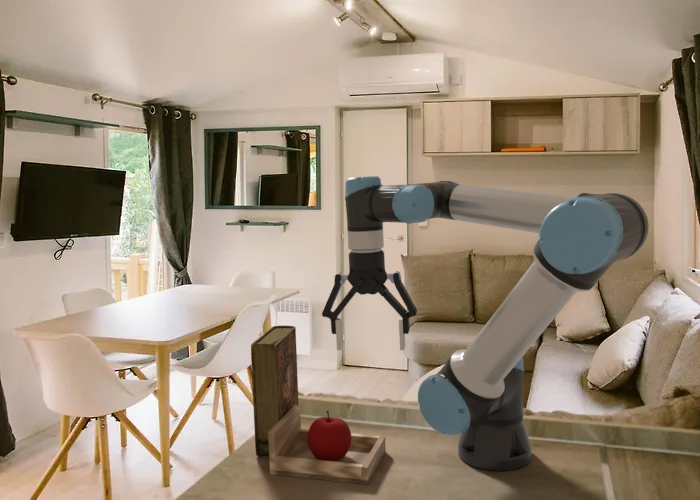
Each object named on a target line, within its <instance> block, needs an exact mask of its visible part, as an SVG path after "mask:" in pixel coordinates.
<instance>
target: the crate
mask: <svg viewBox="0 0 700 500" xmlns="http://www.w3.org/2000/svg"><path fill="white" fill-rule="evenodd" d="M301 413H302V412H301V404H298V405H294V406H293V407H292V408H291V409H290V410H289V411H288V412H287V413H286V414H285V415H284V416H283V417H282V418H281V419H280V420H279V421H278V422H277V423H276V424H275V425H274V426H273V427H272V428H271V429H270V430H269V431H268V438H269V455H268V456H269V460H268V461H269V474H270V475H275V476H282V477H283V476H284V477H292V476H293V477H294V478H301V477H304V479H310V478H316V479H315V480H319V479H327V480H326V481H329V480H334V481H333V482H338V481H340V482H339V483H347V482H349V483H348V484H356V483H357V484H356V485H365V484H367V486H369V485H368V484H369V483H370V481H371V479H372V477H373V476H374V474H375V472H376V470H377V468H378V466H379V464H380V463H381V461H382V459H383V457H384V455H385V453H386V452H387V451H386V449H387V448H386V436H384V435H375V434H374V435H373V434H364V433H352V432H351V437H352V439H351V445H350V448H349V450H348V452H347V454H346V455H345V456H344V457H343V458H342V459H341V460H338V461H335V462H334V461H324V460H318V459H317V458H315V457H314V455H313V454H312V452H311V451H310V449H309V446H308V443H307V435H308V431H309V428H308V429H305V428H302V420H301V419H302V415H301Z"/></svg>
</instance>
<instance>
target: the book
mask: <svg viewBox="0 0 700 500" xmlns="http://www.w3.org/2000/svg"><path fill="white" fill-rule="evenodd" d="M296 329H297V327H296V326H294V325H293V326H292V325H273V326H271V327H270V328H269V329H267V331H266V332H264V333H263V334H262V335H260V336H259V337H258V338H257V339H255V340H254V341H253V342H252V343H251V344H250V354H251V355H250V359H251V360H250V361H251V362H250V363H251V381H252V400H253V401H252V402H253V404H252V405H253V424H254V440H255V441H254V443H255V455H256V457H260V456H269V438H268V431H269V430H270V429H271V428H272V427H273V426H274V425H275V424H276V423H277V422H278V421H279V420H280V419H281V418H282V417H283V416H284V415H285V414H286V413H287V412H288V411H289V410H290V409H291V408H292V407H293V406H294V405H299V384H298V383H299V380H298V360H297V359H298V357H297V354H298V353H297V334H296V333H297V331H296Z"/></svg>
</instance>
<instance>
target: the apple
mask: <svg viewBox="0 0 700 500" xmlns="http://www.w3.org/2000/svg"><path fill="white" fill-rule="evenodd" d="M326 414H327V416H320V417H318V418H316V419H315V420H314V421H313V422H312V423H311V425H310V427H309V428H308V430H309V431H308V435H307V443H308V446H309V449H310V451H311V452H312V454H313V455H314V457H315V458H317V459H318V460H324V461H334V462H335V461H338V460H341V459H342V458H343V457H344V456H345V455H346V454H347V452H348V450H349V448H350V445H351V439H352V437H351V433H352V432H351V428H350V427H349V425H348V423H347V422H346V421H345V420H343V419H342V418H339V417H331V416H330V414H329V410H327V411H326Z"/></svg>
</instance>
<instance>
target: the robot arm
mask: <svg viewBox="0 0 700 500" xmlns="http://www.w3.org/2000/svg"><path fill="white" fill-rule="evenodd" d="M344 194H345V195H344V200H345V210H346V222H347V223H346V225H347V226H346V228H347V249H348V250H350V251H349V252H348V270H349V271H348V274H345V273H342V272H337V274H335V275H334V284H333V287H332V290H331V291H330V294H329V296H328V297H327V301H326V303H325V306H324V307H323V310H322V312H321V316H322V317H323V318H327V319H329V320H330V327H331V328H330V330H331V333H332V335H335V336H336V338H335V339H336V351H342V350H343V348H344V342H343V341H344V340H343V319H342V317H338V316H339V315H340V314H342V313H341V312H342V311H344V309H345V308H346V306H347V305H348V304H349V302H351V300H352V299H353V297H354V296H355V295H356V293H357V294H359V295H364V296H365V295H367V294H368V295H376V294H379V296H381V297H383V298H384V299H385V301H386V302H387V303H389V305H390V306H391V307H392V309H393V310H394V311H395V312H396V313H397V314H398V315H399V316H400V317H399V318H398V332H399V336H398V337H399V350H400V351H404V350H405V349H406V335H409V333H410V330H411V329H410V328H411V327H410V318H412V317H416V315H417V314H418V308H417V307H416V305H415V304H414V302H413V300H412V298H411V296H410V294H409V293H408V290H407V288H406V287H405V285H404V283H403V282H402V277H401V272H400V271H399V270H398V271H397V270H396V271H395V272H391V273H387V272H386V265H385V264H386V263H385V251H384V250H383V248H384V247H385V241H384V223H397V224H398V223H400V224H401V223H403V224H410V225H412V224H418V223H425V222H426V221H427V220H429V219H445V220H451V221H452V220H453V221H460V222H468V223H473V224H478V225H485V226H493V227H499V228H503V229H511V230H517V231H522V232H530V233H535V234H538V237H539V239H538V241H537V242H536V243H535V245H533V248H532V254H533V259H534V261H533V262H532V264H531V265H530V266H529V267H528V268H527V270H526V271H525V272H524V274H523V275H522V277H520V279H519V280H518V281H517V282H516V284H515V286H513V288H512V289H511V291H510V292H509V293H508V295H507V296H506V297H505V299H504V300H503V301H502V303H501V304H500V305H499V306H498V308H497V309H496V310H495V312H494V313H493V314H492V316H491V317H490V318H489V320H488V321H487V322H486V323H485V324H484V326H483V327H482V328H481V330H480V331H479V332H478V334H477V335H476V336H475V338H474V339H473V341H471V343H470V344H469V346H468V347H467V348H466V349H458V350H455V351H454V353H452V354H451V356H450V357H449V359H448V360H447V361H446V363H445V364H444V365H443V366H442V368H441V369H440V370H438V372H437V373H435V374H432V375H428V377H427V378H426V379H424V380H423V381H422V382H421V383H420V385H419V388H418V391H417V402H418V404H419V410H420V413H421V415H422V417H423V418H424V420H425V421H426V423H427V424H428V425H429V426H430V427H431V428H432V429H433V430H434V431H436V432H437V433H440V434H442V435H446V436H455V435H458V434H460V437H459V440H458V442H457V443H458V444H457V445H458V446H457V447H458V448H457V449H458V450H457V454H458V455H457V456H458V457H459V458H460V459H461V461H462V462H464V463H465V464H466V465H467V464H468V465H469V466H471V467H475V468H478V469H481V470H487V471H498V472H502V471H503V472H504V471H513V470H518V469H521V468H523V467H525V466H527V465H528V464H529V463H531V460H532V454H533V453H532V452H533V451H532V450H533V449H532V444H531V441H530V438H529V436H528V432H527V430H526V427H525V422H524V389H525V388H524V387H525V386H524V383H525V382H524V381H525V380H524V379H525V377H524V376H525V368H524V357H523V356H525V354H526V353H527V352H528V350H529V349H530V348H531V347H532V346H533V345H534V343H536V341H537V340H538V339H539V338H540V336H541V335H542V334H543V332H544V331H545V330H546V329H547V328H548V326H549V325H550V324H551V323H552V321H553V320H555V318H556V317H557V316H558V314H559V313H561V311H562V310H563V309H564V307H565V306H566V305H567V304H568V303H569V301H570V300H572V298H573V297H574V295H575V294H576V293H577V292H589V291H590V290H592V289H593V288H594V287H595V286H596V285H597V283H598V282H599V281H600V279H601V278H602V277H603V276H604V275H605V274H606V272H607V271H608V270H609V269H610V268H611V266H613V265H614V264H615V263H617V262H620V261H622V260H626V259H628V258H630V257H632V256H634V255H636V253H638V251H640V249H641V248H642V247H643V245H644V244H645V242H646V241H647V238H648V234H649V229H650V228H649V227H650V225H649V219H648V216H647V213H646V211H645V209H644V208H643V207H642V205H641V204H640V203H639V202H638V201H636V200H635V199H634V198H632V197H631V196H630V195H626V194H621V193H619V192H618V193H617V192H616V193H615V192H612V193H610V192H609V193H588V192H580V193H578V194H577V195H576V196H574V197H572V196H563V195H556V194H547V193H546V194H545V193H539V192H530V191H522V190H513V189H505V188H497V187H487V186H477V185H472V184H471V185H470V184H460V183H458V182H456V181H453V180H451V181H450V180H439V181H435V182H423V183H422V182H421V183H410V184H407V183H406V184H393V185H383V184H382V181H381V178H380V177H379V176H377V175H376V176H375V175H371V176H355V177H348V178H347V179H346V181H345V193H344ZM388 280H389V281H390V283H392V284H394V286H395V288H396V290H397V292H398V294H399V296H400V298H401V300H402V301H403V303H404V305H405V307H406V308H405V307H404V306H403V305H402V303H400V301H399V300H398V299H397V298H396V297H395V296H394V295H393V294H392V292H390V290H389V288H388V287H387V286H386V285H385V284H386V282H387V281H388ZM346 281H348V282H349V284H350V285H351V289H349V291H348V292H347V294H346V295H345V296H344V297H343V299H342V300H341V301H340V302H339V304H338V305H337V307H336V308H335V309H334V310H333V311H332V308H333V307H334V304H335V302H336V300H337V297H338V295H339V293H340V290H341V287H342V285H343V284H345V283H346Z"/></svg>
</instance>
